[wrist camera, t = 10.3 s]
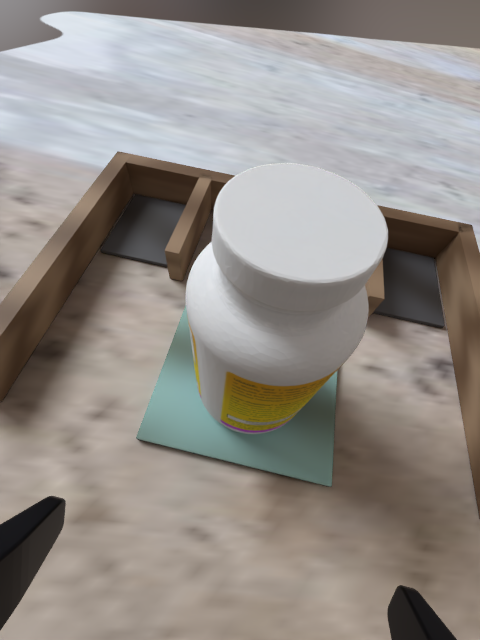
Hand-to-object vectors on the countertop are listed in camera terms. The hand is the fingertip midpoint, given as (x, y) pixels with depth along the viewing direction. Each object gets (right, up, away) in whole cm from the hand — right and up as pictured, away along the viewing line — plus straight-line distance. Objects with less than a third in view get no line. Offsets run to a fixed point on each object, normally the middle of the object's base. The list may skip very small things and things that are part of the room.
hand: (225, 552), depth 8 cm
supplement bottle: (+1, +2, +11) cm, 11 cm away
